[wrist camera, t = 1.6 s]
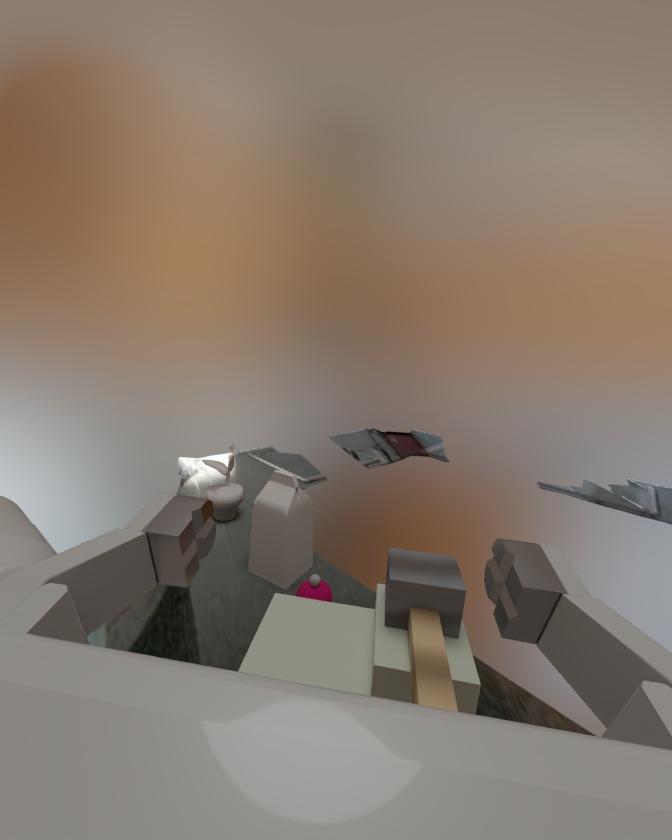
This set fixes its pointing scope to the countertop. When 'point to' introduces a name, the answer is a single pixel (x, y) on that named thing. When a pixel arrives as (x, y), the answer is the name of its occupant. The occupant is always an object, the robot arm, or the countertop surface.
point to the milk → (281, 531)
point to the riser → (349, 650)
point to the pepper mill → (315, 589)
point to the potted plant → (224, 491)
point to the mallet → (426, 619)
